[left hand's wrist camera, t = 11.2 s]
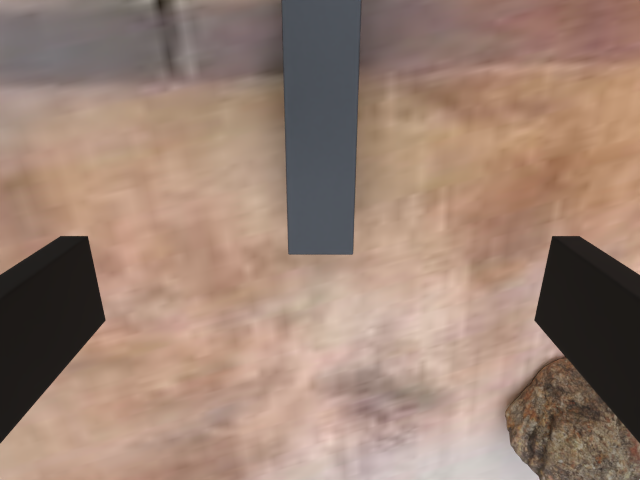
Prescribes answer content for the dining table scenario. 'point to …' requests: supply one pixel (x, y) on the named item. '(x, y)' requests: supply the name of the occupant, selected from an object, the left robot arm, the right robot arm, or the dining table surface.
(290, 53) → the bar
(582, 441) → the rock
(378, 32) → the dining table surface
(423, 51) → the dining table surface
